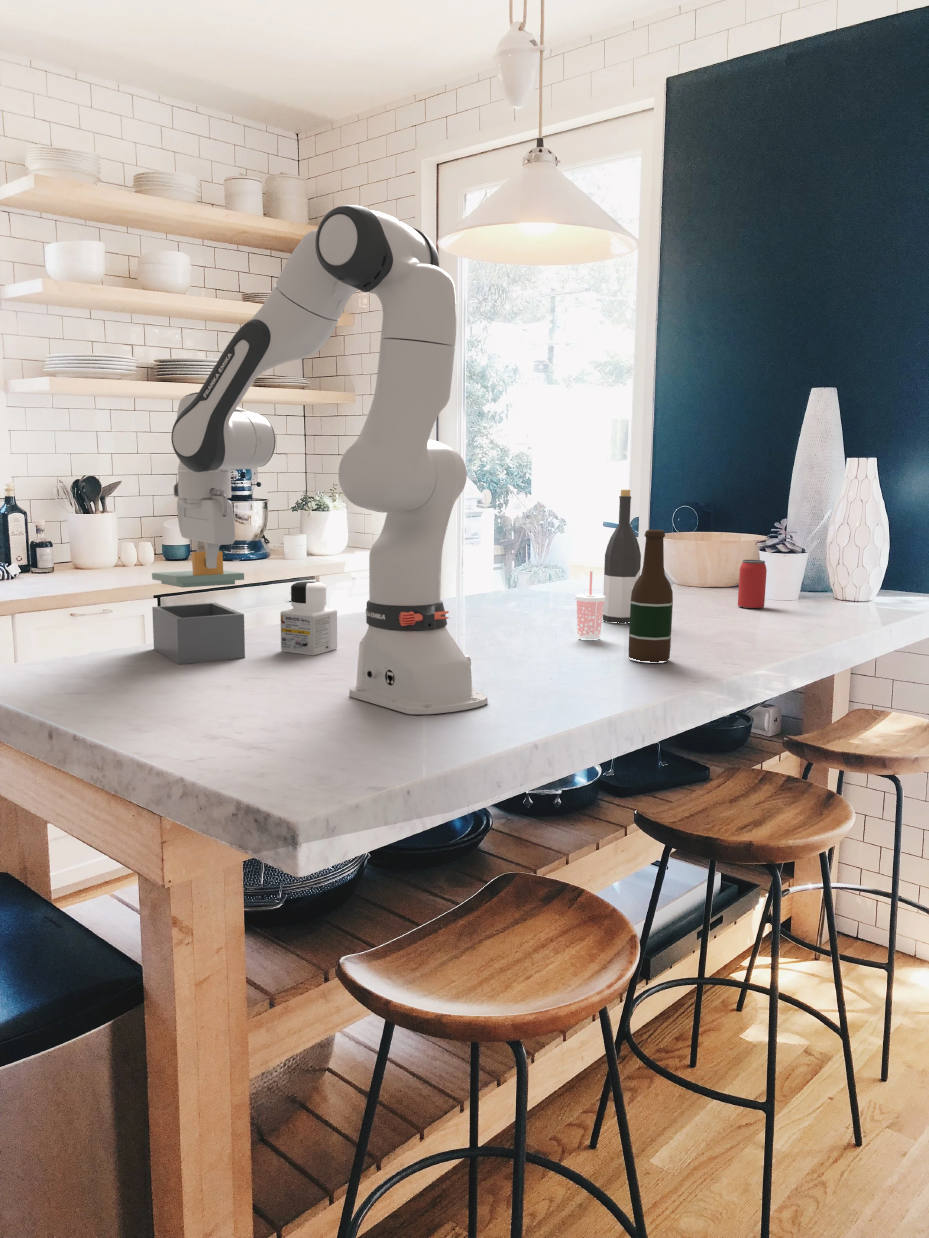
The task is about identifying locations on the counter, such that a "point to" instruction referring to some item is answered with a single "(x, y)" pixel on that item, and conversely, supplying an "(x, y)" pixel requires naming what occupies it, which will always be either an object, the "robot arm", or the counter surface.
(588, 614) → the beverage cup
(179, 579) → the lid
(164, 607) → the tub
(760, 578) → the beer can
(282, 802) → the counter surface
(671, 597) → the beer bottle
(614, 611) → the wine bottle
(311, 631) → the container
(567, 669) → the counter surface
